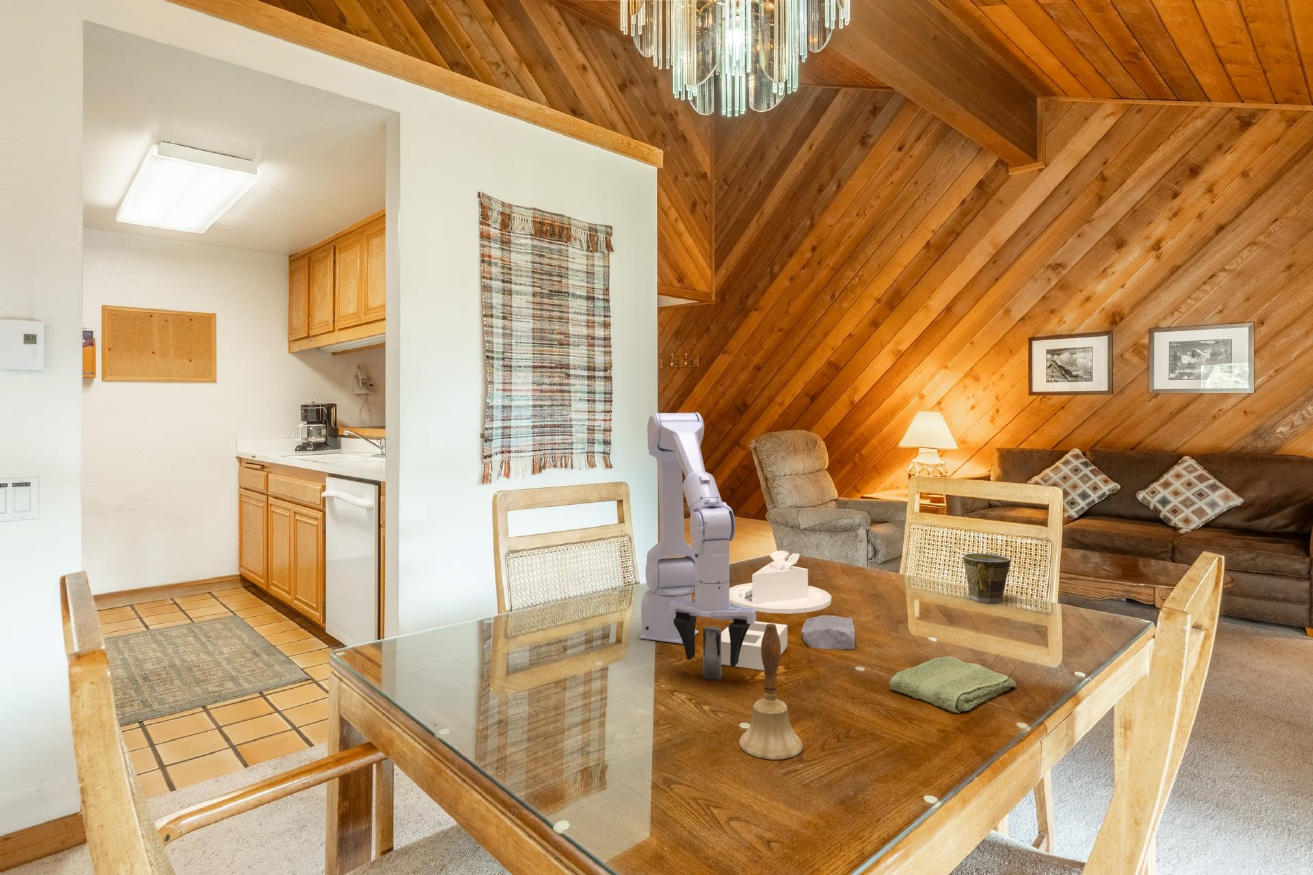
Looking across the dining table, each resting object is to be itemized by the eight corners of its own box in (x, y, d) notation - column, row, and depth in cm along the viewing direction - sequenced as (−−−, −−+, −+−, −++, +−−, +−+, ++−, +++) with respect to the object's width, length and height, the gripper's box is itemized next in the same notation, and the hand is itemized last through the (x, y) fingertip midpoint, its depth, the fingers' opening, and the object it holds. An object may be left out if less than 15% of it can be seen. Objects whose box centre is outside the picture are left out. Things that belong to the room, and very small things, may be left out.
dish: (768, 582, 184) (768, 539, 184) (852, 600, 166) (852, 552, 165) (703, 599, 167) (702, 552, 167) (788, 621, 149) (788, 569, 149)
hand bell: (733, 732, 97) (733, 617, 96) (792, 729, 97) (792, 615, 97) (746, 761, 88) (746, 636, 88) (810, 758, 89) (811, 634, 88)
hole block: (712, 662, 123) (712, 640, 123) (736, 639, 136) (736, 618, 136) (768, 670, 119) (768, 647, 119) (787, 645, 132) (787, 624, 132)
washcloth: (1020, 690, 112) (1020, 670, 112) (960, 720, 101) (960, 698, 101) (943, 667, 122) (944, 648, 122) (882, 691, 112) (882, 671, 111)
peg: (700, 678, 116) (700, 630, 116) (706, 672, 119) (706, 625, 119) (718, 680, 115) (717, 632, 115) (723, 674, 118) (723, 627, 118)
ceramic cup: (968, 592, 171) (968, 551, 171) (1013, 598, 165) (1014, 556, 165) (955, 604, 161) (955, 560, 160) (1003, 610, 155) (1003, 565, 155)
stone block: (805, 658, 131) (860, 650, 129) (800, 632, 132) (854, 624, 130) (805, 640, 143) (855, 633, 141) (800, 617, 143) (850, 609, 141)
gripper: (662, 581, 116) (662, 662, 116) (747, 589, 110) (747, 675, 110) (678, 572, 122) (678, 649, 123) (759, 579, 116) (759, 660, 117)
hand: (712, 660), depth 117 cm, fingers open, 7 cm apart
